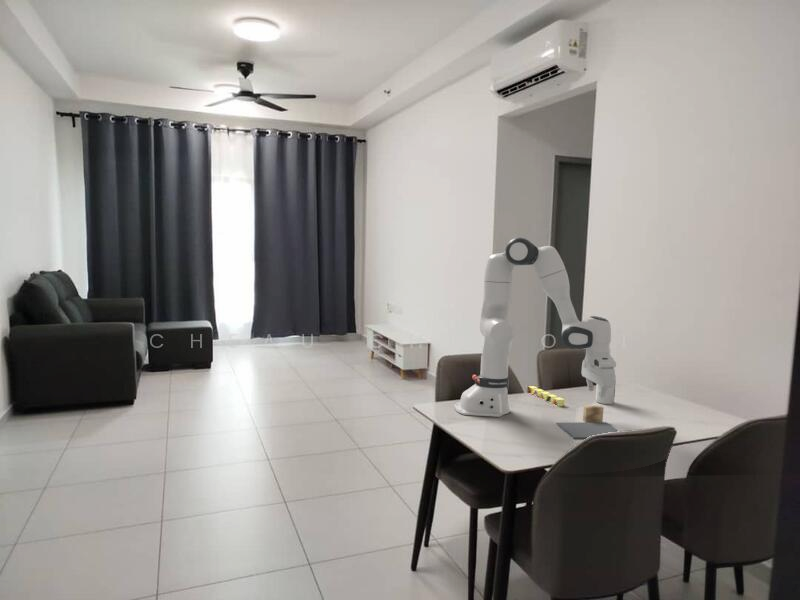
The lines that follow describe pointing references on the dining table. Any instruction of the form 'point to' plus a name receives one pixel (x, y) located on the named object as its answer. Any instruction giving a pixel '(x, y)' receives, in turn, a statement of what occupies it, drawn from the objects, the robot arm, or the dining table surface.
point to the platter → (546, 395)
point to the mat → (586, 429)
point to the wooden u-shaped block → (593, 414)
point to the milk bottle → (606, 395)
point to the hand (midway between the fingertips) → (596, 393)
